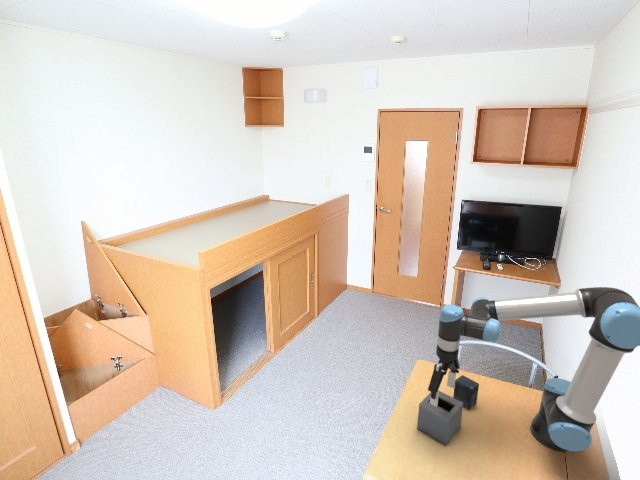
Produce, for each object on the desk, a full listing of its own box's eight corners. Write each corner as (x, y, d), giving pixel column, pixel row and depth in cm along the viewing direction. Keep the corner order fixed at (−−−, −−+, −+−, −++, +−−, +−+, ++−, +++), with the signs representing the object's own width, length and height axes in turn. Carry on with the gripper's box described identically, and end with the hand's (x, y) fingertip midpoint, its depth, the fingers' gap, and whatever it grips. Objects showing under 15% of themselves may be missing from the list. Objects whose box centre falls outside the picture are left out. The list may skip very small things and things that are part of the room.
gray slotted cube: (460, 428, 150) (463, 403, 147) (445, 446, 142) (449, 420, 139) (432, 412, 158) (434, 388, 155) (416, 429, 150) (419, 403, 146)
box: (476, 404, 163) (479, 383, 160) (469, 410, 159) (472, 389, 156) (459, 394, 169) (462, 374, 165) (452, 400, 165) (455, 379, 162)
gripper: (453, 329, 150) (448, 375, 156) (420, 357, 133) (416, 407, 139) (472, 336, 145) (466, 383, 152) (441, 366, 128) (435, 418, 134)
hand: (442, 395), depth 145 cm, fingers open, 13 cm apart
